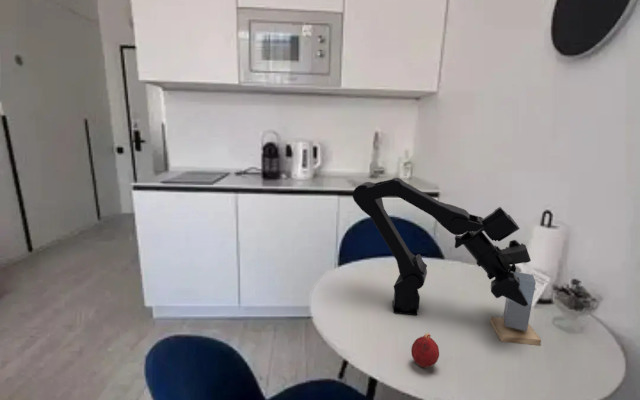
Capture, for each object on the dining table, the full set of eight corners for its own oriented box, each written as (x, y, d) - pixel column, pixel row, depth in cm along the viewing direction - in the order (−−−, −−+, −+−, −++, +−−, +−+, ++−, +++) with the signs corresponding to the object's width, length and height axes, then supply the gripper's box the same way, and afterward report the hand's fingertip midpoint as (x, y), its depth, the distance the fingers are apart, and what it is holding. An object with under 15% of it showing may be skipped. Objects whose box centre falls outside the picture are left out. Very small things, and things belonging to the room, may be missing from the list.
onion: (432, 379, 77) (437, 345, 75) (406, 369, 80) (409, 336, 78) (440, 364, 82) (444, 332, 80) (414, 355, 85) (418, 323, 83)
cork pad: (501, 341, 91) (502, 335, 91) (490, 321, 100) (490, 316, 100) (540, 345, 90) (541, 339, 90) (525, 325, 99) (526, 320, 99)
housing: (504, 326, 93) (512, 278, 90) (503, 316, 98) (510, 270, 95) (526, 331, 91) (535, 282, 89) (524, 321, 96) (532, 274, 93)
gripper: (515, 244, 82) (563, 301, 81) (508, 223, 99) (548, 270, 98) (472, 270, 87) (517, 324, 85) (473, 246, 104) (510, 291, 102)
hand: (524, 300), depth 93 cm, fingers closed on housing, 5 cm apart
